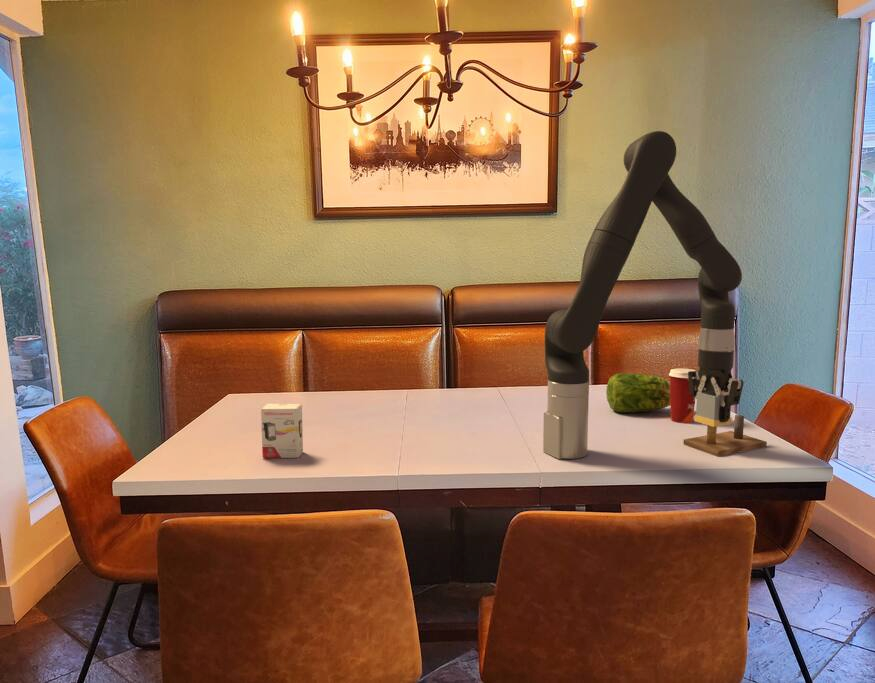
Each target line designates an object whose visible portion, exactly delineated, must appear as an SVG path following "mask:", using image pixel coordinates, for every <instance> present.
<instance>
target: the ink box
mask: <svg viewBox="0 0 875 683" xmlns="http://www.w3.org/2000/svg"><path fill="white" fill-rule="evenodd" d="M260 412H261V413H260V415H261V417H260V419H261V420H260V421H261V443H262V444H261V445H262V446H261V447H262V449H261V450H262V459H263V458H264V459H267V458H269V459H273V458H274V459H280V458H283V459H293V458H294V459H295V458H299V457H300V456H301V455H302V454H303V453H304V440H303V439H304V436H303V432H304V431H303V430H304V429H303V404H300V403H266V405H264V406H263V407H262V408H261V409H260Z"/></svg>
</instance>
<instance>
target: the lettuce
mask: <svg viewBox="0 0 875 683" xmlns="http://www.w3.org/2000/svg"><path fill="white" fill-rule="evenodd" d="M605 391H606V399H607V403H608V405H609V407H610V409H611V410H613V411H615V412H617V413H624V414H625V413H627V414H628V413H640V412H652V411H653V412H654V411H659V410H662V409H666V408H668V407H671V405H670V380H667V379H665V378H663V377H661V376H658V375H652V374H642V373H630V372H629V373H627V372H626V373H616V374H614V375H612V376H610V377H609V379H608V382H607V385H606V390H605Z"/></svg>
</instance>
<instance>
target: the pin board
mask: <svg viewBox="0 0 875 683" xmlns="http://www.w3.org/2000/svg"><path fill="white" fill-rule="evenodd" d="M733 424H734V426H733V431H732V430H730V431H729V430H728V431H724V432H718V433H717V429H718V426H716V427H712V426H709V425H707V429H706V430H707V431H706V435H702V436H695V437H691V438H690V437H689V438H683V442H682V443H683V445H684V446H688V447H690V448H693V449H696V450H698V451H702V452H705V453H707V454H709V455H713V456H715V457H722V456H727V455H731V454H737V453H742V452H746V451H751V450H757V449H761V448H767V445H768V441H765V440H762V439H759V438H757V437H756V438H755V437H752V436H748V435H745V434H744V427H745V426H744V424H745V416H744V415H742V414H735V415H734V423H733Z"/></svg>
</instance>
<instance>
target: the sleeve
mask: <svg viewBox="0 0 875 683" xmlns="http://www.w3.org/2000/svg"><path fill="white" fill-rule="evenodd" d="M724 398H725V396H724ZM725 401H726V400H725ZM695 406H696V407H695V408H696V409H695V414H694V418H693V420H694V422H697V423H700V424H703V425H705V426H706V425H709V426H712V427H716V426H717V427H721V426H727V425H731V424H732V417H731V416H730V418H729V420H728V421H727V422H720V421H719V409H720V406H721V405H720V401H719V397H718V396H716V393H715V392H714V391H707V392H697V399H696V403H695ZM731 411H732V406H731V407H730V414H731V413H732V412H731Z"/></svg>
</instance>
